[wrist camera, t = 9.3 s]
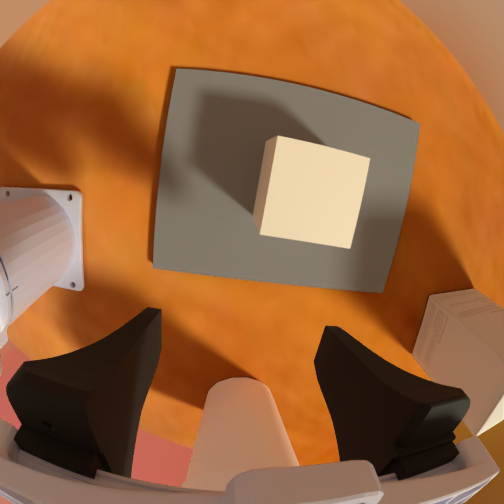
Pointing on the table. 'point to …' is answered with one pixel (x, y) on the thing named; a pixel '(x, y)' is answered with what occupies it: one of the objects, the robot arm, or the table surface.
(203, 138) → the charcoal mat
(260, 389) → the foam cup
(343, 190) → the cream cube
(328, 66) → the table surface
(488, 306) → the supplement box
